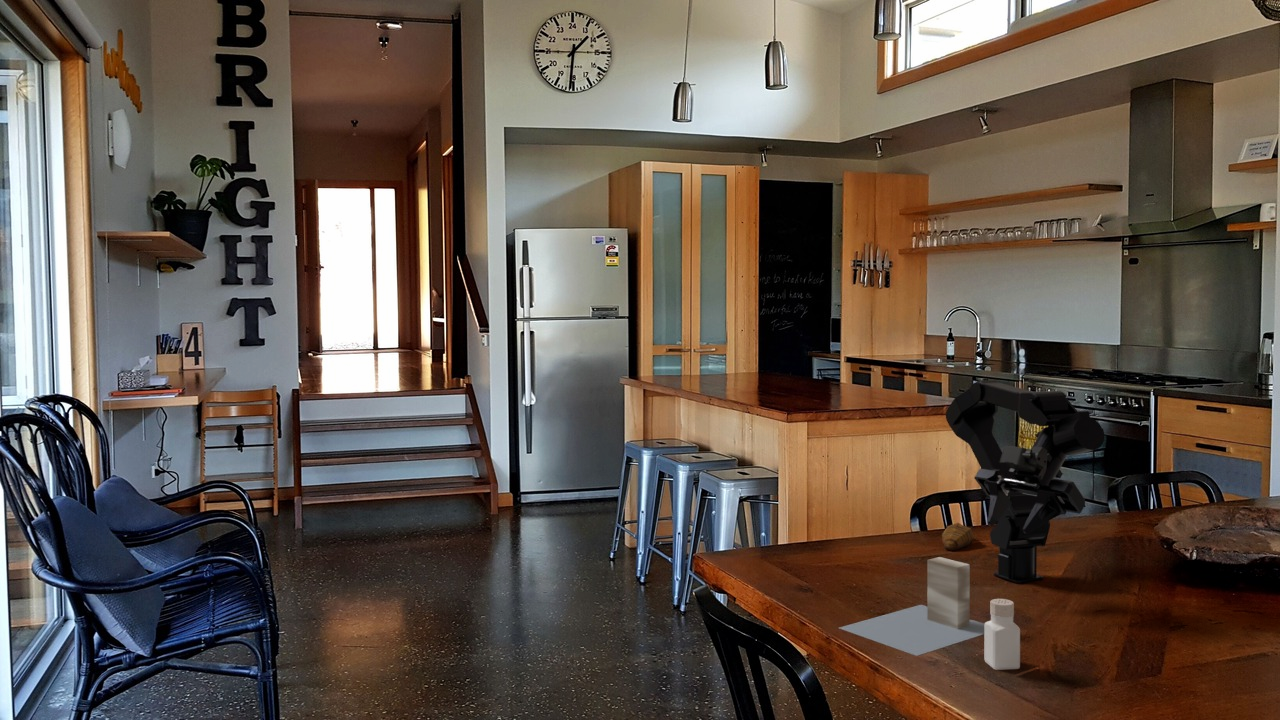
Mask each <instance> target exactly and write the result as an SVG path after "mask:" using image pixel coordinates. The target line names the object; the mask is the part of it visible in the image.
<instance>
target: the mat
mask: <svg viewBox="0 0 1280 720" xmlns="http://www.w3.org/2000/svg"><path fill="white" fill-rule="evenodd" d="M984 624H985V622H980V621H977V620H974V619H973V620H972V619H970V626H966V627H963V628H960V629H955V628H952V627H949V626H946V625H942V624H939V623H936V622H933V621H930V620H927V606H926V605H924V604H918V605H915V606H912V607H911V606H910V607H907V608H904V609H900V610H896V611H894V612H890V613H886V614H884V615H879V616H876V617H872V618H868V619H865V620H861V621H858V622H855V623H850V624H847V625H844V626H840V627H838V629H840V630H843V631H845V632H848V633H850V634H853V635H857V636H859V637H862V638H865V639H868V640H870V641H874V642H876V643H878V644H882V645H885V646H887V647H891V648H893V649H896V650H897V651H901V652H905V653H907V654H910V655H912V656H915V657H918V656H921V655H924V654H927V653H930V652H934V651H936V650H939V649H943V648H946V647H949V646H952V645H956V644H957V643H958V644H959V643H961V642H965V641H967V640H972V639H975V638H976V637H980V636H984Z"/></svg>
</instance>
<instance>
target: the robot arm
mask: <svg viewBox="0 0 1280 720" xmlns="http://www.w3.org/2000/svg"><path fill="white" fill-rule="evenodd" d="M998 407H1000V408H1004V409H1007V410H1009V411H1014V412H1016V413H1017V415H1018V417H1019V418H1020V419H1021V420H1023V421H1025V422H1027V423H1028V424H1030V425H1036V426H1037V427H1042V429H1041V430H1039V431H1038V432H1037V433H1036V434H1035V438H1036V439H1035V441H1034V443H1033V444H1032V446H1031V448H1026V447H1020V446H1015V445H1013V446H1012V445H1004V446H1003V448H1002V449H1001V447H1000V445H999V443H998V442H997V441H998V440H996V438H995V435H994V433H993V431H994V424H995V418H994V417H995V415H996V414H997V413H998V411H999V408H998ZM945 419H946V422H947V424H948V425H949V428H950V429H951V430H952V432H953V434H954V435H956V437H958V438H959V439H961V440H962V441H963V442H965V443H967V444H968V445H969V447H970V450H971V451H972V453H973V455H974V457H975V459H976V460H977V463H978V465H979V467H980V468H978V470H977V472H976V474H975V476H974V477H973V478H974V480H975V481H976V483H977V484H978V486H979V487H980V488H981V489H982V491H983V492H984V494H985V495H986V496H987V497H989V506H988V514H987V516H988V518H987V524H988V525H989V527H993V528H992V529H991V531H990V532H989V537H990V542H991V545H993V546H996V547H998V548H999V553H998V556H997V561H998V563H997V564H998V566H997V568H998V570H997V571H994V572H993V576H995V577H999V578H1001V579H1004V580H1008V581H1009V582H1014V583H1016V584H1022V583H1027V582H1033V581H1037V580H1043V579H1044V576H1043V575H1041V574H1038V573H1037V566H1038V565H1037V564H1038V563H1037V562H1038V561H1037V560H1038V559H1037V557H1038V556H1037V555H1038V554H1037V553H1038V552H1037V551H1038V549H1037V547H1045V546H1046V544H1047V540H1048V536H1049V532H1050V529H1051V522H1050V521H1051V520H1054V518H1057V517H1059V516H1065V515H1066V514H1067V513H1073V514H1077V515H1080V514H1082V512H1083V509H1084V508H1085V506H1086V499H1085V497H1084V495H1083V494H1082V492H1081V491H1080V489H1079V488H1078V486H1077V485H1076V483H1075V482H1074V481H1072V480H1071V481H1070V480H1065V479H1061V478H1062V476H1063V472H1062V470H1061V468H1062V466H1063V464H1064V462H1065V460H1066V458H1067V457H1068V456H1070V457H1074V456H1078V455H1081V454H1085V453H1089V452H1092V451H1094V450H1095V451H1096V450H1098V449H1099V448H1101V447H1102V445H1103V444H1104V441H1105V438H1106V436H1105V430H1104V428H1102V426H1101V424H1100V423H1099V422H1098V421H1097V420H1096V419H1094V418H1093V417H1091V415H1090V411H1088V410H1081V411H1078V409H1077V408H1076V407H1075V406H1074V404H1072V402H1071V401H1070V400H1069V399H1068V398H1067V395H1066V393H1065V392H1063V391H1061V390H1046V391H1045V390H1044V391H1043V390H1042V391H1031V390H1028V389H1026V388H1025V389H1024V388H1021V387H1017V386H1013V385H1010V384H1005V383H1001V382H1000V381H997V380H996V379H995V380H976V382H973V383H972V384H971V385H970V387H969V388H968V389H967V390H965V391H964V392H962V393H961V394H959V395H957V396H956V397H954V399H953V400H952V402H951V403H950V404H949V406H948V407H947V409H946V412H945Z"/></svg>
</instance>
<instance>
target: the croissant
mask: <svg viewBox="0 0 1280 720" xmlns="http://www.w3.org/2000/svg"><path fill="white" fill-rule="evenodd" d="M941 537H942V539H941V541H942V544H943V546H944V549H945V550H947V551H957V550H960V549H963V548H965V547H967V546H969V545H970V544H971V542H972V541H973V540H974V538H975V535H974V532H973V530H972V528H971V527H969V526H965V525H963V524H961V523H960V522H957V523H956V522H955V523H953V524H950V525H947V527H946V528H945V529H944V531H943V532H942V533H941Z"/></svg>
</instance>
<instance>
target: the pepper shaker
mask: <svg viewBox="0 0 1280 720" xmlns="http://www.w3.org/2000/svg"><path fill="white" fill-rule="evenodd" d="M989 604H990V606H989V608H990V610H989V611H990V612H989V613H990V620H987V621H986V622H984V634H983V636H984V638H983V640H984V641H983V642H984V645H983V647H984V649H983V650H984V652H983V653H984V658H983V659H984V662H985V663H986V664H987V665H989V666H990V668H992V669H993V670H997V671H1004V670H1018V669H1020V667H1021V629H1020V627H1019V626H1018V624H1016V623H1015V622H1014V616H1015V610H1014V609H1015V603H1014V601H1012V600H1010V599H1006V598H994V599H991V600H990V603H989Z"/></svg>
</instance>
